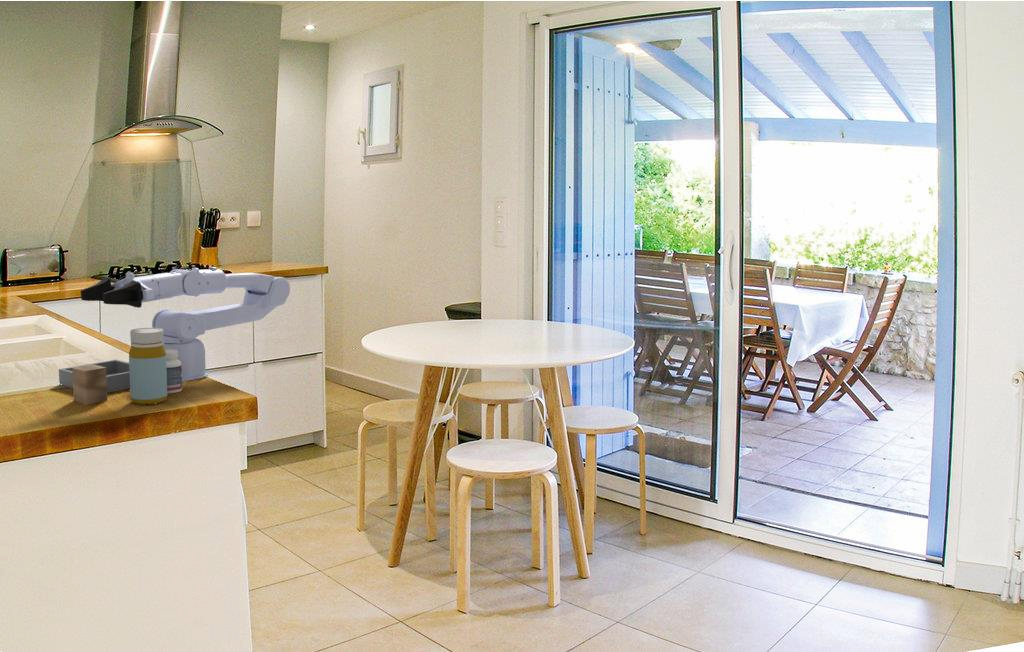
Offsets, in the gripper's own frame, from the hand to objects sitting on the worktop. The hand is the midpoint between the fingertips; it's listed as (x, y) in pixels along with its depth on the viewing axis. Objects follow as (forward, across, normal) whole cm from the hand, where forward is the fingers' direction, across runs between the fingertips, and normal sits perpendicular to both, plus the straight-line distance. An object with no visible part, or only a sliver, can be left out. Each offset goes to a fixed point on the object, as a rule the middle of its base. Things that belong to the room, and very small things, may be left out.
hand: (92, 297), depth 173 cm
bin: (-6, -7, +21) cm, 23 cm away
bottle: (-3, +12, +22) cm, 25 cm away
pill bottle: (-11, +8, +22) cm, 26 cm away
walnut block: (+4, +2, +21) cm, 21 cm away
